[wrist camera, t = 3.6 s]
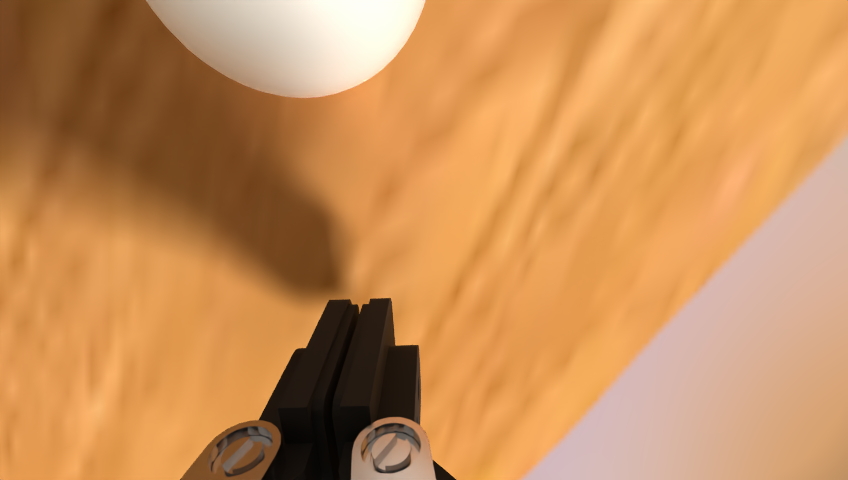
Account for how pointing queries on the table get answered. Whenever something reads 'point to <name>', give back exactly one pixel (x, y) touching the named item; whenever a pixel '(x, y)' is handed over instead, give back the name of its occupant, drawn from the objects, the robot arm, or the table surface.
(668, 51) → the table surface
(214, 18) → the cue ball
